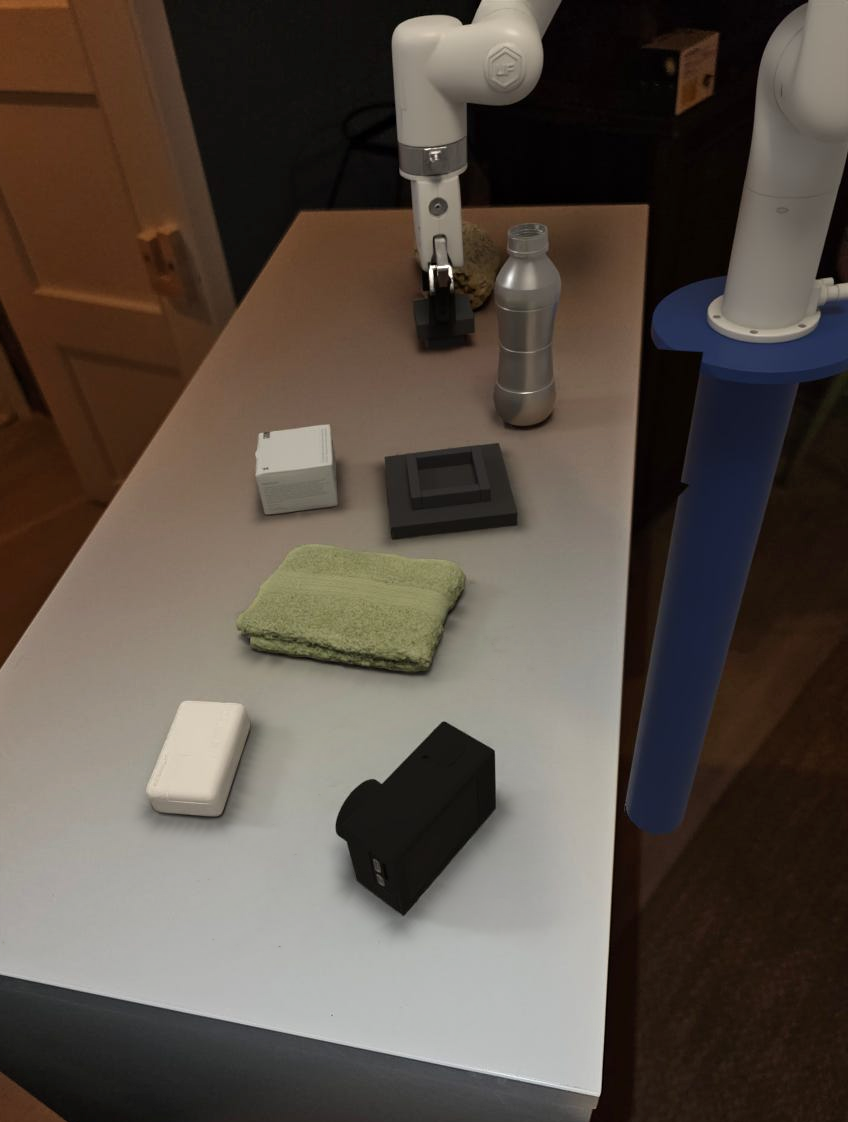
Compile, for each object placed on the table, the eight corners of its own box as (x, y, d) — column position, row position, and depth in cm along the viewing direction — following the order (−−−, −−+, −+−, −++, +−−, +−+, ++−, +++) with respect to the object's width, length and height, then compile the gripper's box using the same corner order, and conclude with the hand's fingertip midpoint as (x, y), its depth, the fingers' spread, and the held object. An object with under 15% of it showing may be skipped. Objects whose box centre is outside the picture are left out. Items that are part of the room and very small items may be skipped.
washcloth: (293, 554, 83) (287, 528, 81) (471, 582, 77) (470, 554, 75) (233, 650, 75) (225, 624, 72) (427, 689, 69) (424, 662, 67)
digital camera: (436, 770, 64) (430, 709, 59) (496, 807, 61) (495, 747, 56) (342, 870, 59) (326, 814, 54) (403, 916, 56) (393, 861, 51)
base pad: (499, 454, 91) (498, 430, 88) (517, 525, 82) (517, 499, 80) (385, 468, 91) (383, 444, 89) (392, 539, 83) (389, 514, 81)
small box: (339, 507, 87) (332, 464, 84) (263, 516, 88) (253, 475, 84) (337, 463, 93) (330, 422, 89) (266, 472, 93) (256, 431, 90)
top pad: (468, 322, 112) (467, 292, 109) (475, 348, 107) (474, 317, 104) (415, 329, 112) (412, 300, 110) (419, 355, 107) (417, 325, 105)
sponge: (499, 320, 114) (511, 230, 124) (486, 269, 108) (499, 178, 118) (406, 337, 119) (424, 249, 129) (388, 289, 113) (409, 200, 123)
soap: (189, 720, 70) (179, 696, 68) (254, 723, 69) (246, 699, 67) (152, 815, 64) (140, 792, 62) (223, 821, 63) (213, 797, 60)
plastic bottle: (493, 403, 98) (491, 220, 84) (554, 400, 97) (562, 214, 82) (493, 434, 93) (490, 246, 79) (556, 432, 92) (565, 241, 78)
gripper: (477, 177, 88) (477, 335, 101) (458, 127, 100) (460, 274, 113) (404, 186, 89) (413, 342, 101) (394, 135, 101) (403, 280, 113)
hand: (438, 306), depth 107 cm, fingers open, 9 cm apart
